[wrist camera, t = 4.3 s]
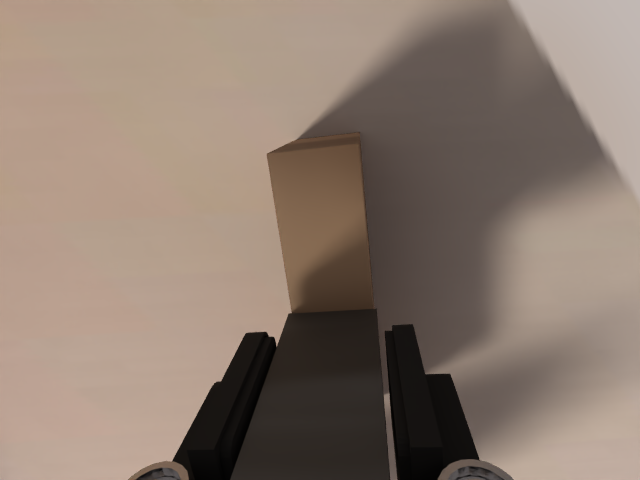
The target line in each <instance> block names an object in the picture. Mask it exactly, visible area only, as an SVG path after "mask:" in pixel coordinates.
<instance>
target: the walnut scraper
mask: <svg viewBox="0 0 640 480" xmlns="http://www.w3.org/2000/svg"><path fill="white" fill-rule="evenodd" d="M267 159H268V165H269V172H270V178H271V184H272V191H273V197H274V203H275V209H276V216H277V222H278V228H279V235H280V241H281V247H282V254H283V260H284V266H285V273H286V279H287V285H288V291H289V298H290V304H291V310H292V313H291V314H288V317H287V320H286V323H285V326H284V328H283V331H282V334H281V337H280V340H279V343H278V345H277V348H276V351H275V354H274V357H273V360H272V362H271V365H270V368H269V371H268V374H267V377H266V379H265V382H264V385H263V388H262V391H261V394H260V396H259V399H258V402H257V405H256V408H255V411H254V413H253V416H252V419H251V422H250V425H249V428H248V430H247V433H246V436H245V439H244V442H243V445H242V448H241V450H240V453H239V456H238V459H237V462H236V465H235V467H234V470H233V473H232V476H231V479H230V480H390V472H389V459H388V446H387V434H386V421H385V408H384V395H383V383H382V371H381V358H380V346H379V334H378V322H377V310H376V309H374V299H373V287H372V275H371V263H370V251H369V239H368V227H367V215H366V204H365V192H364V180H363V168H362V156H361V144H360V132H357V133H349V134H340V135H332V136H323V137H315V138H306V139H298V140H295V141H292V142H290V143H288V144H286V145H284V146H282V147H280V148H278V149H276V150H274V151H272V152H270V153H267Z"/></svg>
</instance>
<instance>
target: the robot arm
mask: <svg viewBox="0 0 640 480" xmlns="http://www.w3.org/2000/svg"><path fill="white" fill-rule="evenodd" d="M385 341H386V354H387V367H388V380H389V393H390V406H391V419H392V429H393V439H394V449H395V459H396V469H397V479H398V480H513V479H512V477H511V476H510V475H508V474H507V473H506V472H504V471H503V470H502V469H500V468H499V467H497V466H494V465H492V464H490V463H488V462H485V461H480V460H479V457H478V454H477V451H476V448H475V445H474V442H473V439H472V436H471V433H470V430H469V427H468V424H467V421H466V418H465V415H464V413H463V410H462V407H461V404H460V401H459V398H458V395H457V392H456V389H455V386H454V383H453V380H452V378H451V375H450V374H425V372H424V368H423V364H422V360H421V356H420V352H419V347H418V343H417V339H416V335H415V331H414V327H413V324H409V325H392V331H385ZM276 348H277V347H276V342H275V338H274V337H269V336H268V334H267V332H254V333H246V334H245V336H244V338H243V340H242V342H241V344H240V345H239V347H238V349H237V351H236V353H235V355H234V357H233V359H232V361H231V363H230V365H229V367H228V369H227V371H226V373H225V375H224V377H223V379H222V381H221V382H216V383H214V385H213V386H212V388H211V389H210V391H209V393H208V395H207V397H206V399H205V401H204V403H203V404H202V406H201V408H200V410H199V412H198V414H197V416H196V418H195V419H194V421H193V423H192V425H191V427H190V429H189V431H188V433H187V434H186V436H185V438H184V440H183V442H182V444H181V446H180V448H179V449H178V451H177V453H176V455H175V457H174V459H173V461H172V462H170V461H164V462H159V463H155V464H152V465H150V466H147V467H145V468H143V469H141V470H140V471H138V472H137V473H135V474H134V475H133V476H131V477H130V478H129V479H128V480H230V479H231V476H232V473H233V470H234V467H235V465H236V462H237V459H238V456H239V453H240V450H241V448H242V445H243V442H244V439H245V436H246V433H247V430H248V428H249V425H250V422H251V419H252V416H253V413H254V411H255V408H256V405H257V402H258V399H259V396H260V394H261V391H262V388H263V385H264V382H265V379H266V377H267V374H268V371H269V368H270V365H271V362H272V360H273V357H274V354H275V351H276Z"/></svg>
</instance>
